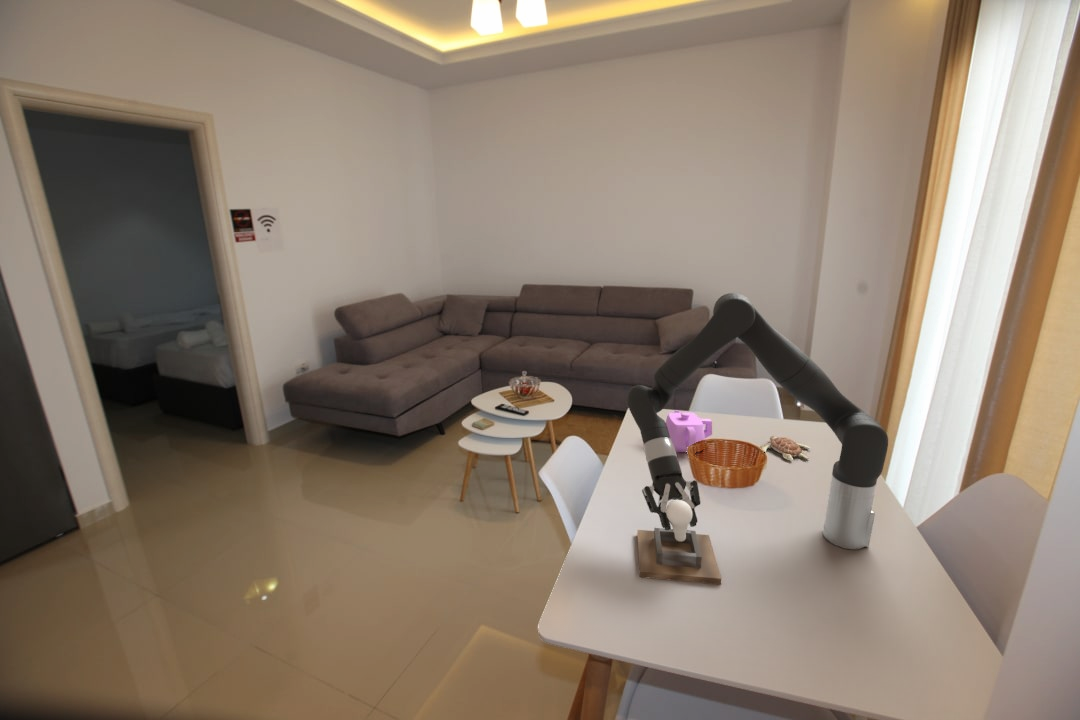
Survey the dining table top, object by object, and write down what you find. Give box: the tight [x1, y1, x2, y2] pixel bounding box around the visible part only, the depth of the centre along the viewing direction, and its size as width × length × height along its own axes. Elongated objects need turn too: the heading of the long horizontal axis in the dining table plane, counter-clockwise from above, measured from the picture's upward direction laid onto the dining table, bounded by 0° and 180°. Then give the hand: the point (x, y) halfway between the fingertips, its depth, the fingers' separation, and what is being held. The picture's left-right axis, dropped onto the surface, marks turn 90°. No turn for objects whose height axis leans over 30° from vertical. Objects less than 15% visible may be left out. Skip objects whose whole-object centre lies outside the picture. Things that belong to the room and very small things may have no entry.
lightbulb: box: [665, 499, 693, 542], centre depth 115 cm, size 6×6×11 cm
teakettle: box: [665, 409, 713, 454], centre depth 176 cm, size 17×17×12 cm
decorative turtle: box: [759, 435, 811, 461], centre depth 170 cm, size 18×17×5 cm
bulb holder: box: [636, 527, 722, 585], centre depth 117 cm, size 18×16×4 cm
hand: (681, 527), depth 114 cm, fingers closed on lightbulb, 6 cm apart
